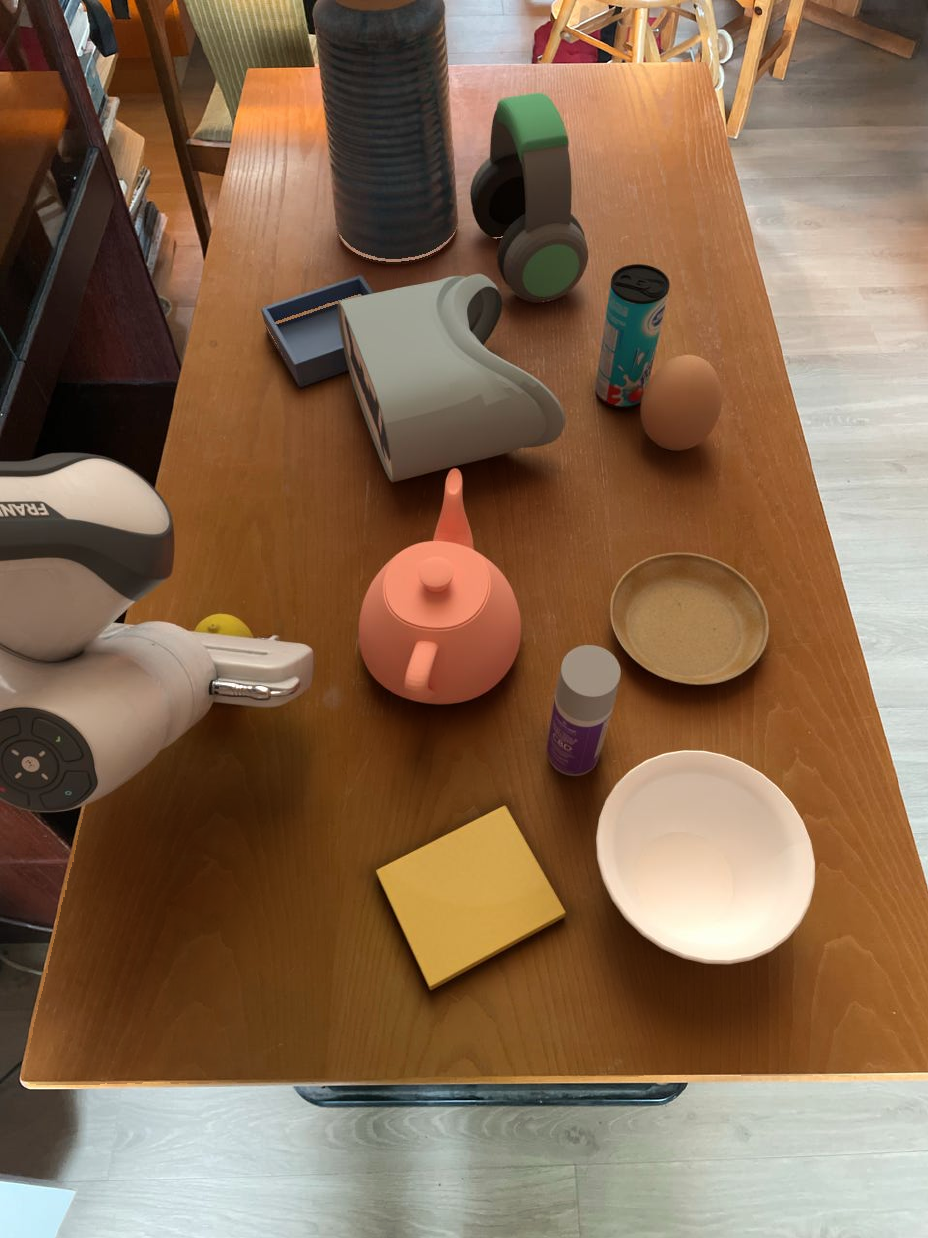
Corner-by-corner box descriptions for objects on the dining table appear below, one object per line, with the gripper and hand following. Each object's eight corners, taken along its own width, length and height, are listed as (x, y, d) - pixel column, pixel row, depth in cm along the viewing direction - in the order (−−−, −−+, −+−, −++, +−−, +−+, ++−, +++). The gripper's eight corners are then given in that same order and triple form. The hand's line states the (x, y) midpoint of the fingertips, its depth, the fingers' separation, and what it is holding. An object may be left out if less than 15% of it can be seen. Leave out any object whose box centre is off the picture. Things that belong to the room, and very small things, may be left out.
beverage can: (628, 418, 100) (650, 308, 87) (584, 396, 101) (599, 286, 89) (655, 389, 102) (680, 278, 89) (612, 368, 104) (630, 256, 91)
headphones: (465, 228, 119) (463, 71, 102) (542, 214, 120) (553, 57, 103) (505, 317, 109) (511, 160, 92) (589, 301, 110) (609, 143, 94)
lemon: (197, 658, 84) (172, 613, 77) (252, 635, 85) (232, 589, 78) (216, 705, 81) (192, 662, 74) (272, 680, 82) (254, 636, 76)
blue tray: (299, 387, 103) (294, 364, 100) (266, 331, 108) (260, 307, 105) (401, 351, 106) (399, 327, 103) (364, 298, 111) (361, 274, 108)
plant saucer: (581, 593, 87) (584, 578, 85) (712, 549, 90) (718, 533, 87) (650, 719, 80) (655, 706, 77) (791, 667, 82) (800, 653, 80)
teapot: (388, 538, 91) (377, 456, 81) (533, 555, 90) (540, 474, 79) (340, 729, 79) (319, 663, 69) (505, 753, 78) (509, 688, 68)
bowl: (572, 796, 76) (582, 756, 69) (754, 783, 76) (783, 742, 69) (600, 993, 67) (615, 972, 60) (805, 977, 68) (844, 954, 60)
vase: (331, 202, 122) (290, -68, 96) (446, 188, 124) (438, -82, 97) (344, 275, 114) (303, 1, 87) (468, 259, 115) (465, -15, 88)
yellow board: (430, 991, 68) (429, 987, 66) (377, 875, 72) (375, 870, 71) (564, 917, 70) (566, 912, 69) (504, 811, 75) (505, 804, 74)
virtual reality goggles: (346, 371, 104) (331, 278, 93) (497, 335, 107) (499, 241, 96) (397, 507, 93) (386, 420, 82) (563, 463, 96) (574, 373, 85)
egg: (718, 426, 99) (743, 347, 89) (696, 477, 95) (721, 400, 85) (647, 405, 101) (665, 325, 91) (623, 454, 97) (639, 376, 87)
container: (540, 768, 77) (552, 689, 65) (553, 721, 80) (567, 636, 67) (592, 782, 76) (615, 705, 64) (604, 735, 79) (628, 652, 66)
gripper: (289, 657, 64) (335, 616, 78) (23, 627, 66) (113, 591, 79) (286, 738, 66) (331, 683, 79) (26, 707, 67) (114, 658, 81)
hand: (221, 637), depth 79 cm, fingers open, 8 cm apart
